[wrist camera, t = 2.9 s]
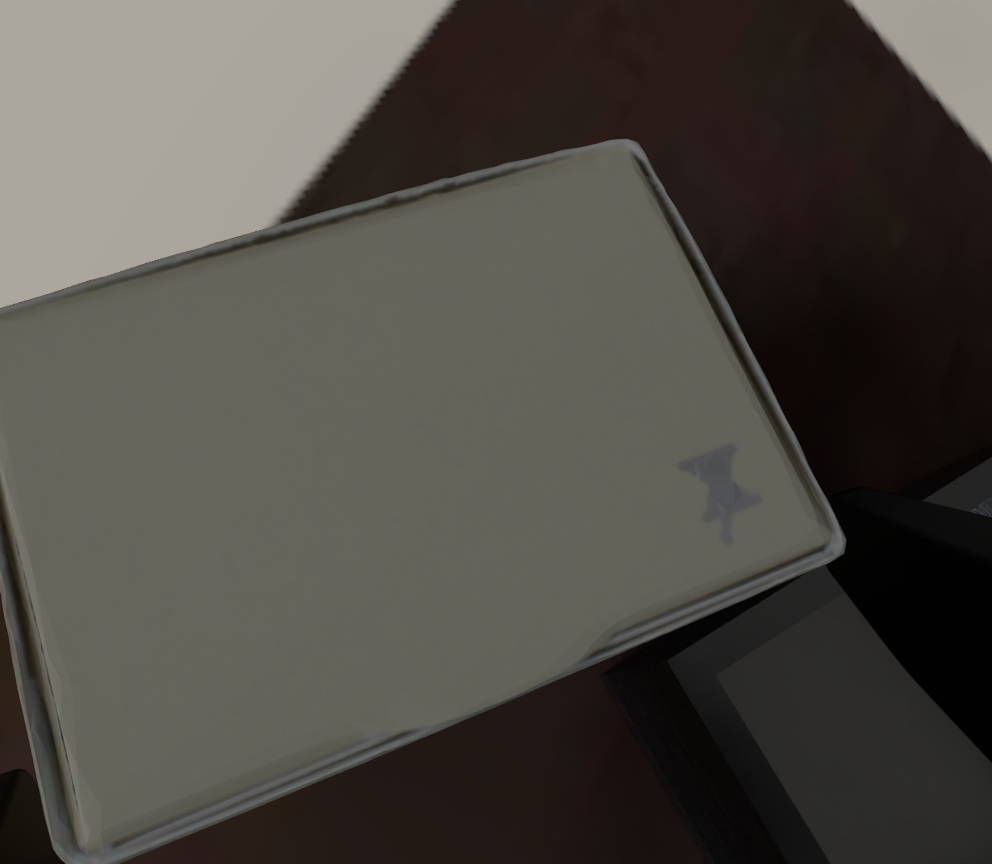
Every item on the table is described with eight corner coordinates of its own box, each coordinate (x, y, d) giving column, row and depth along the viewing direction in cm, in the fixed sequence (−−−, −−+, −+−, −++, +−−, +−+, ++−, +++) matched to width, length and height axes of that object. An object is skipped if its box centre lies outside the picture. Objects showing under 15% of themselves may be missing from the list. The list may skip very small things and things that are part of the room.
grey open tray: (1189, 849, 18) (1430, 885, 14) (864, 1137, 16) (1041, 1288, 11) (922, 477, 20) (1062, 413, 16) (600, 676, 18) (667, 660, 14)
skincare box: (499, 476, 19) (669, 107, 8) (573, 658, 18) (902, 541, 7) (220, 574, 18) (-82, 295, 6) (281, 779, 16) (47, 902, 5)
